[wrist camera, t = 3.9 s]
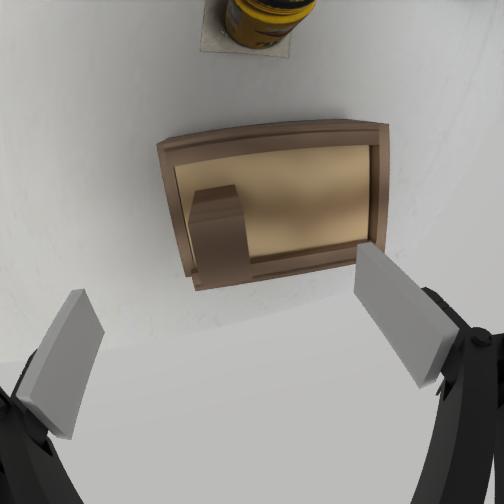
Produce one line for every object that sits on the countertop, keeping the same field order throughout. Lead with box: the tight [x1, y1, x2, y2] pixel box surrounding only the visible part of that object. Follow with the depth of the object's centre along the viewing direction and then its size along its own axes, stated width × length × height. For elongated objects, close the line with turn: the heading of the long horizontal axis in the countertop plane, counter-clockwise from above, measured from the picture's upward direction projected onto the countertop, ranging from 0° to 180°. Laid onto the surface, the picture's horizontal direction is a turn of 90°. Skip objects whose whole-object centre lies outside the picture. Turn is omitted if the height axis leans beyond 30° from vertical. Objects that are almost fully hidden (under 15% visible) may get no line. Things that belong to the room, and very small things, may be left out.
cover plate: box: [174, 145, 369, 287], centre depth 20 cm, size 10×15×8 cm, turn 96°
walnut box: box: [157, 119, 390, 291], centre depth 25 cm, size 12×18×8 cm, turn 96°
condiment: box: [200, 0, 316, 58], centre depth 16 cm, size 7×8×12 cm
